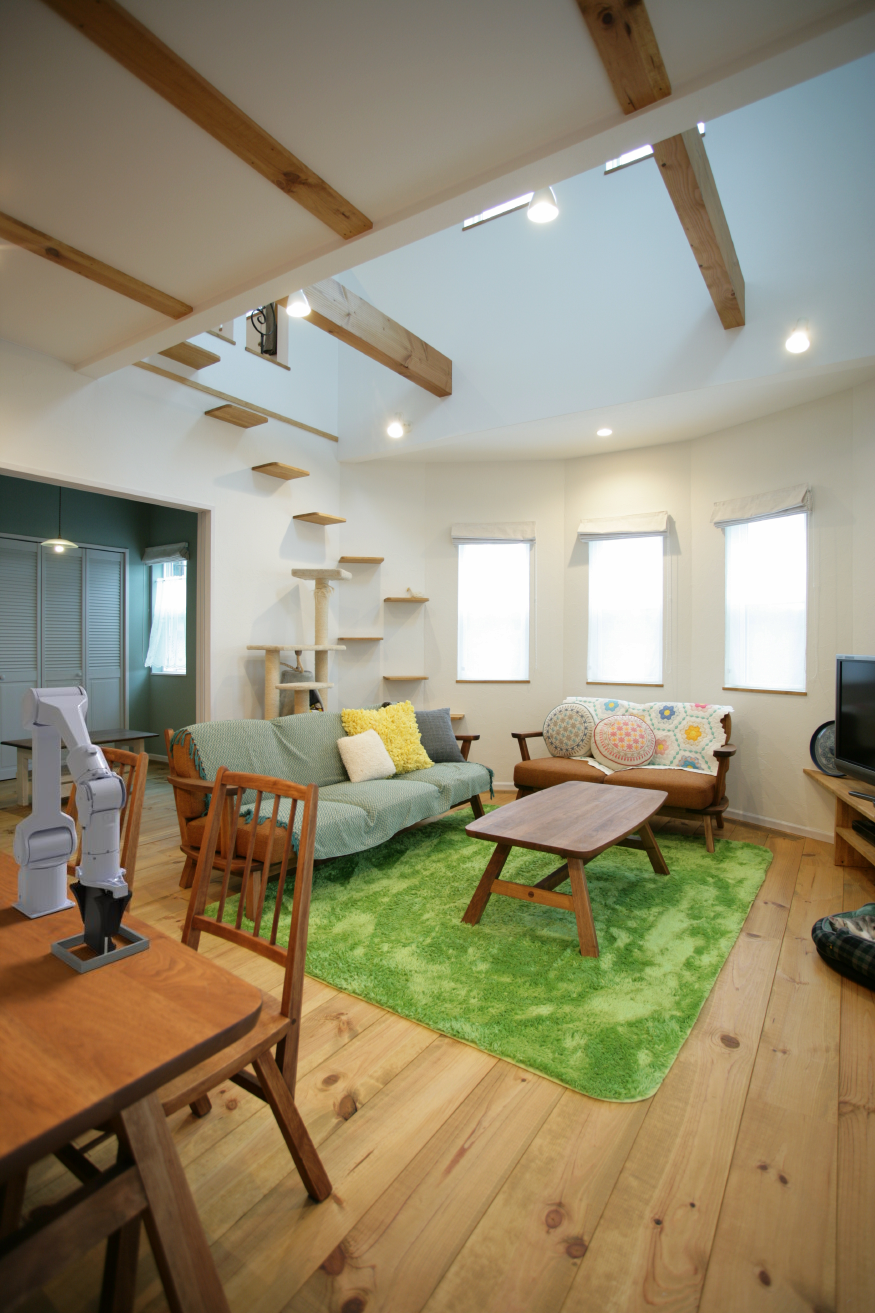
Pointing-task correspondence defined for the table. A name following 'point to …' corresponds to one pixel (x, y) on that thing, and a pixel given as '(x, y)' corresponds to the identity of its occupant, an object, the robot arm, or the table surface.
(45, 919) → the table surface
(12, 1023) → the table surface
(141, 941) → the holder frame
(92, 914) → the battery charger
